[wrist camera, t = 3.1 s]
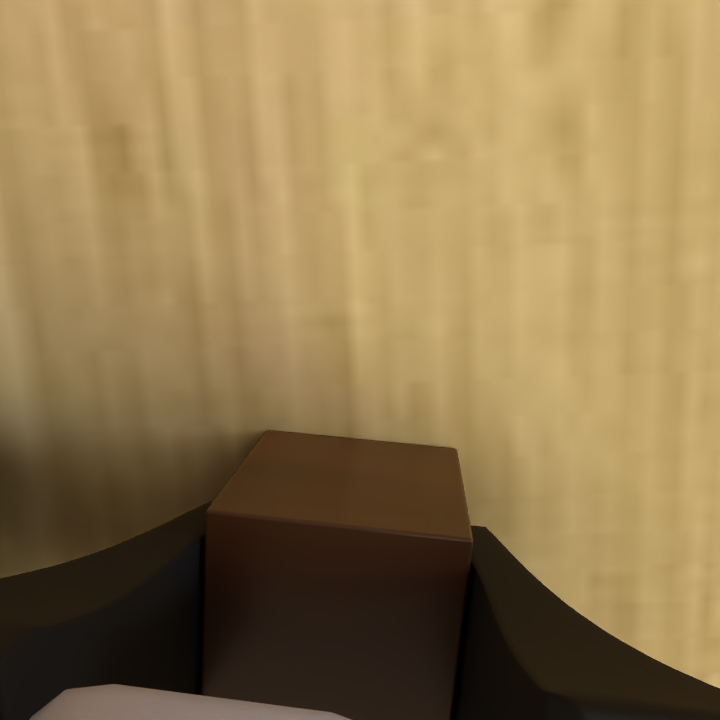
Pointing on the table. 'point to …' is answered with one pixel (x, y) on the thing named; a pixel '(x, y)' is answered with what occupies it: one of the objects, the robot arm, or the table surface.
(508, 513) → the table surface
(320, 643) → the block
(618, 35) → the table surface
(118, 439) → the table surface
